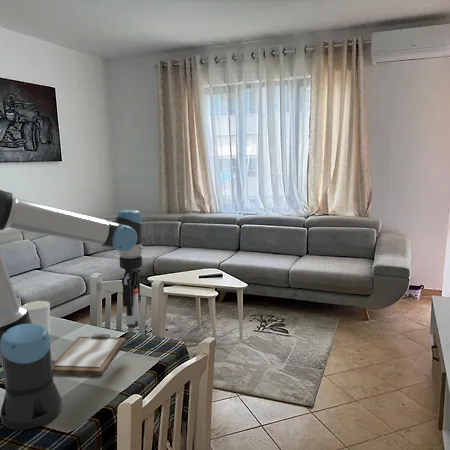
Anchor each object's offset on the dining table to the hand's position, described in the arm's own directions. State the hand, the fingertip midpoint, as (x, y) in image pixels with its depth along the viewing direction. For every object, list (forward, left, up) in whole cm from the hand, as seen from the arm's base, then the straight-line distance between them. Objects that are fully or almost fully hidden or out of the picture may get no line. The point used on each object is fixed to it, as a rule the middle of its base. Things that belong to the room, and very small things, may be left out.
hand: (132, 320), depth 145 cm
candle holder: (-42, +12, -12) cm, 45 cm away
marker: (0, 0, -2) cm, 2 cm away
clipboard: (-15, -4, -12) cm, 19 cm away
